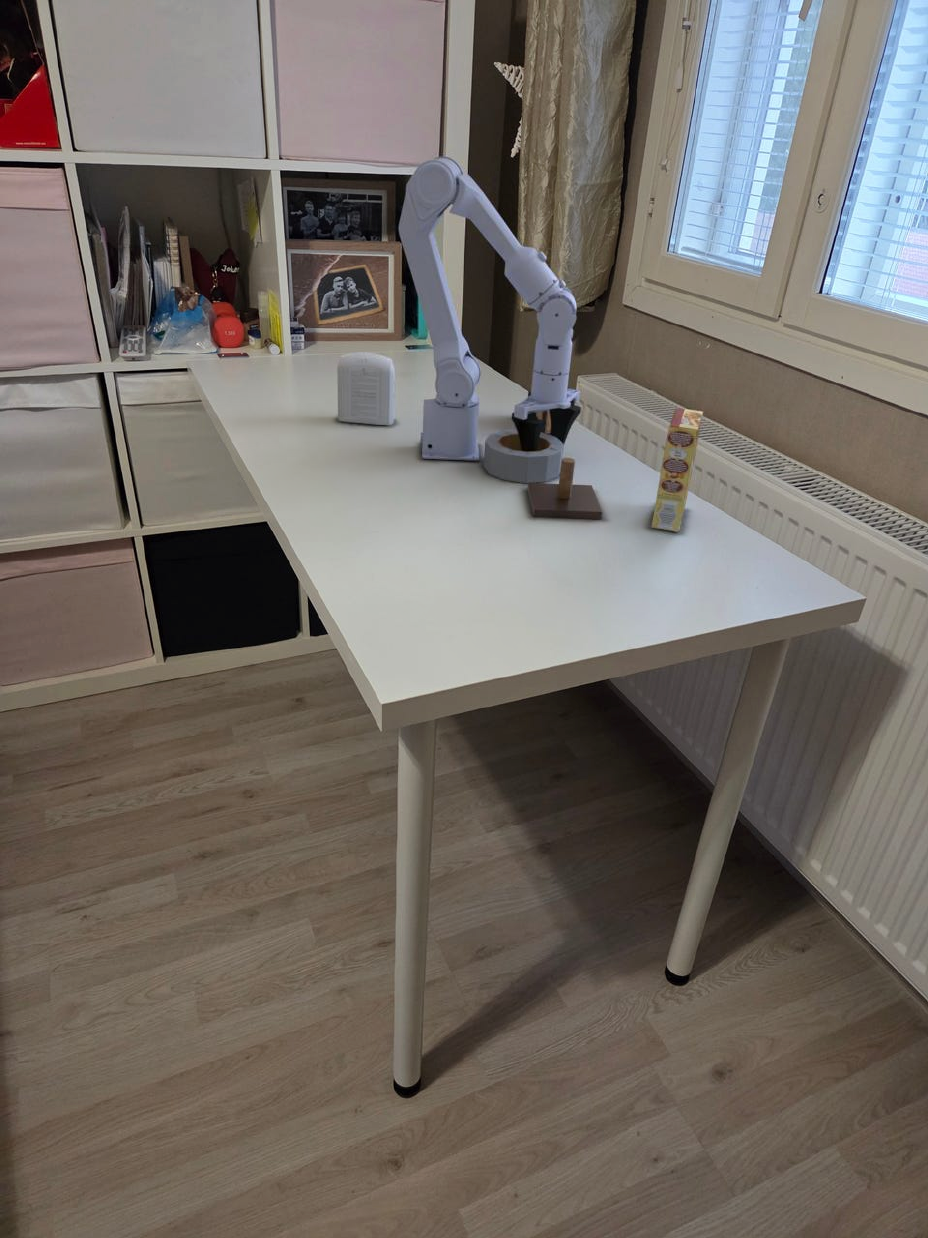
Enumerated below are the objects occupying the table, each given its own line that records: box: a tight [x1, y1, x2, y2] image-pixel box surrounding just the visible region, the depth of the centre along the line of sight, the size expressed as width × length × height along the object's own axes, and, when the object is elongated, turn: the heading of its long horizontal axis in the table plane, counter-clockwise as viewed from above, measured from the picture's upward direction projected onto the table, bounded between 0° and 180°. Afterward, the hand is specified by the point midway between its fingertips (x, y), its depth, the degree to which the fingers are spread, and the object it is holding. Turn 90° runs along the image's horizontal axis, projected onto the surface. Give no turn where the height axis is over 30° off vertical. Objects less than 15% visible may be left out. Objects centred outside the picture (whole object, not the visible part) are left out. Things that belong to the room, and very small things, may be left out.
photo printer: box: [336, 351, 396, 426], centre depth 152 cm, size 10×4×12 cm, turn 86°
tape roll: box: [483, 429, 565, 484], centre depth 138 cm, size 13×13×4 cm
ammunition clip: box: [527, 364, 551, 435], centre depth 155 cm, size 11×2×12 cm, turn 14°
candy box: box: [651, 407, 704, 533], centre depth 121 cm, size 9×4×15 cm, turn 162°
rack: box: [526, 457, 603, 520], centre depth 126 cm, size 10×10×7 cm
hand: (542, 452), depth 142 cm, fingers open, 7 cm apart
